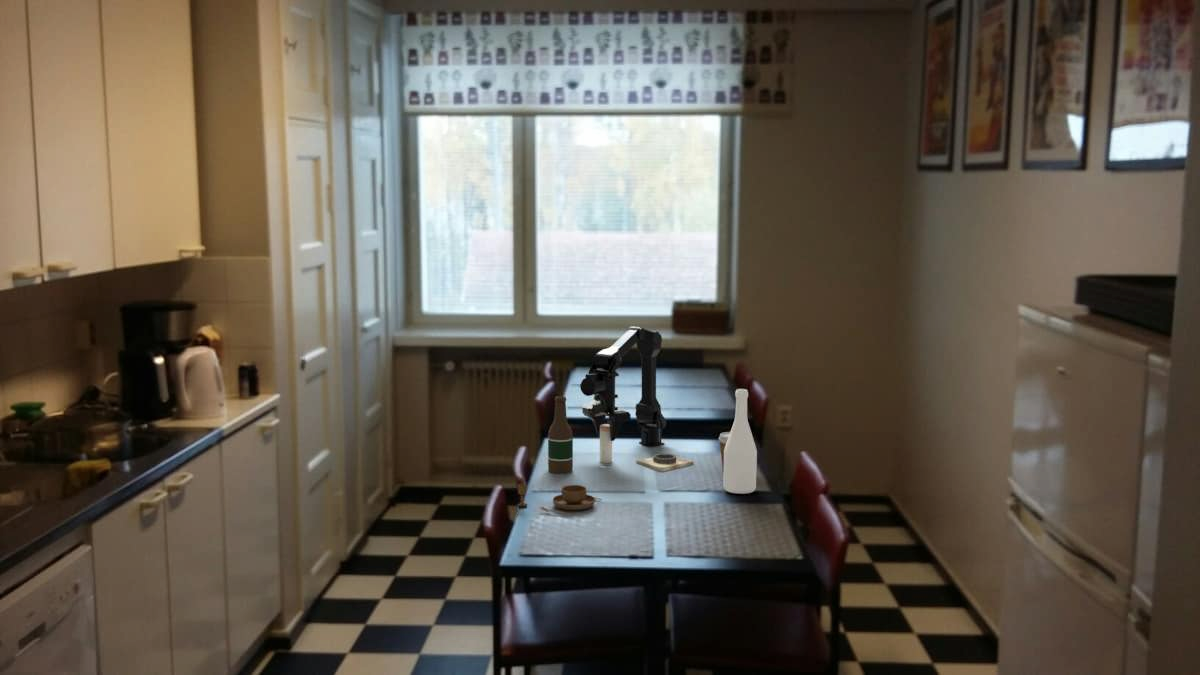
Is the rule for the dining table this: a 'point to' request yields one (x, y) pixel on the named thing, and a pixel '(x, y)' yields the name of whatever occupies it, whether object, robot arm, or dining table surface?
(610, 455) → the peg
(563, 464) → the beer bottle
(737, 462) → the wine bottle
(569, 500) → the place setting
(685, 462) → the eye plate
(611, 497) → the dining table surface
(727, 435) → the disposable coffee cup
